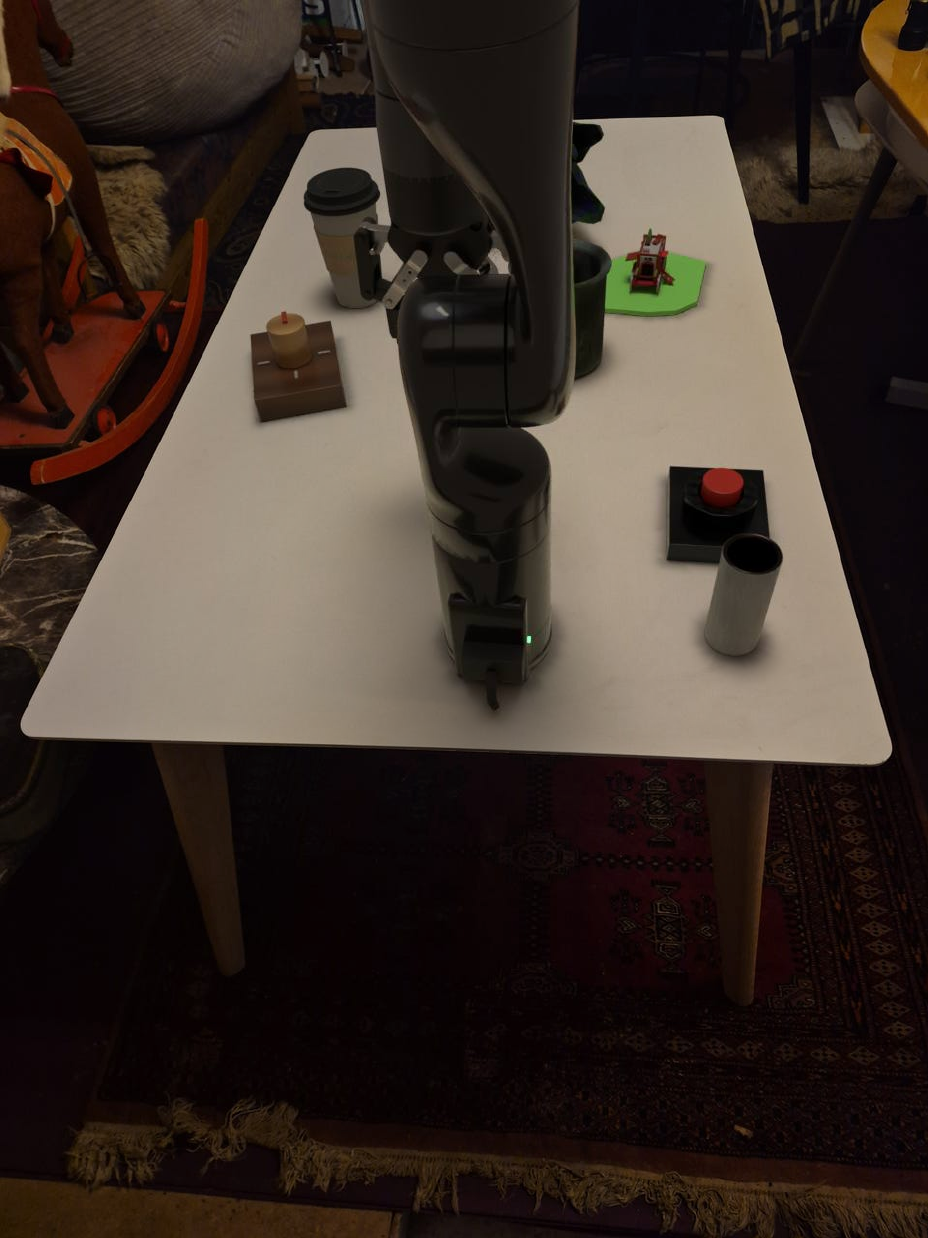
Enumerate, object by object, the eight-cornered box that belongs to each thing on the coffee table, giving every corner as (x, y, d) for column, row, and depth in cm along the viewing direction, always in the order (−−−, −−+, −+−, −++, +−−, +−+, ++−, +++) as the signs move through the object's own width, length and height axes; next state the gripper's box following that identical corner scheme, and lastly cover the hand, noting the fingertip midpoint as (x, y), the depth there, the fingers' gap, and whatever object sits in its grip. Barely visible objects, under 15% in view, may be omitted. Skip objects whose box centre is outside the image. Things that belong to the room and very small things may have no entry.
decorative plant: (565, 260, 135) (574, 313, 110) (410, 195, 131) (383, 235, 106) (625, 118, 124) (650, 142, 99) (456, 42, 120) (439, 47, 95)
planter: (750, 613, 75) (774, 529, 67) (764, 654, 72) (790, 572, 65) (699, 617, 76) (716, 534, 68) (710, 658, 73) (730, 576, 65)
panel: (346, 406, 99) (341, 383, 97) (261, 422, 99) (253, 399, 96) (335, 341, 108) (330, 318, 106) (256, 355, 108) (249, 332, 105)
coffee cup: (331, 321, 111) (306, 205, 100) (319, 286, 117) (294, 173, 106) (401, 306, 112) (385, 189, 101) (386, 272, 118) (369, 158, 107)
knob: (314, 364, 100) (305, 327, 96) (276, 371, 100) (266, 334, 96) (311, 344, 103) (302, 307, 99) (274, 350, 102) (264, 314, 99)
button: (741, 508, 79) (744, 494, 77) (700, 506, 79) (703, 492, 78) (739, 482, 81) (742, 468, 80) (700, 480, 81) (702, 466, 80)
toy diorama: (707, 259, 114) (713, 212, 109) (693, 320, 105) (699, 272, 101) (595, 251, 118) (597, 206, 113) (572, 309, 109) (573, 263, 104)
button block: (766, 566, 79) (775, 535, 76) (666, 560, 80) (671, 530, 77) (759, 486, 86) (767, 455, 83) (667, 482, 87) (671, 451, 84)
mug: (601, 387, 98) (606, 289, 89) (476, 380, 101) (469, 284, 91) (610, 334, 105) (616, 238, 95) (493, 329, 107) (487, 235, 98)
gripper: (323, 170, 61) (361, 363, 74) (518, 176, 58) (524, 376, 71) (354, 125, 66) (386, 314, 78) (538, 128, 63) (539, 324, 76)
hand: (451, 343), depth 75 cm, fingers open, 8 cm apart
